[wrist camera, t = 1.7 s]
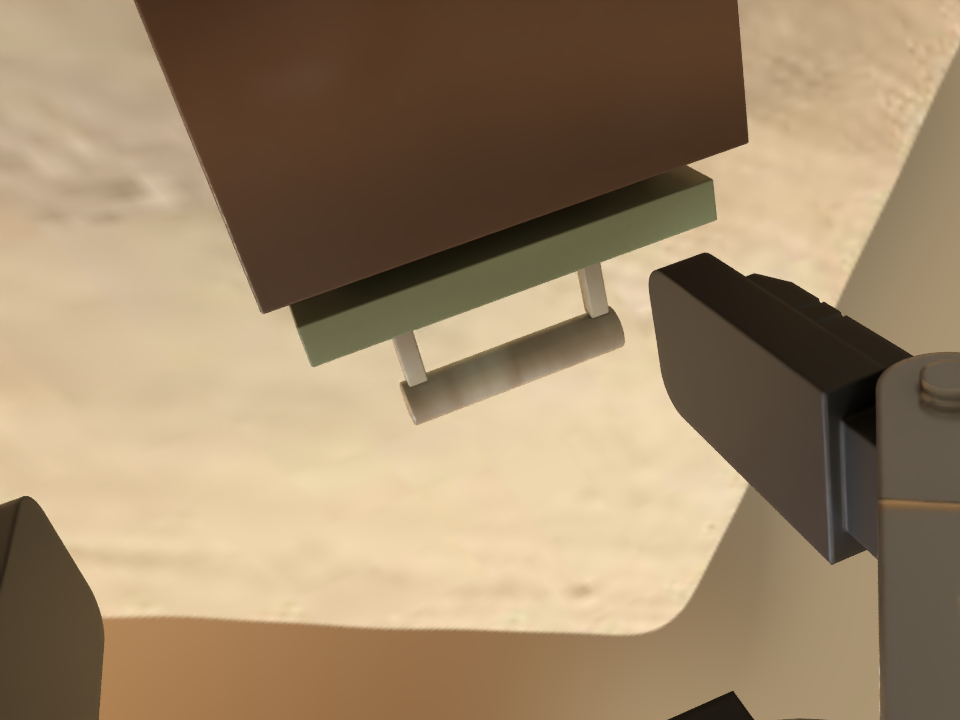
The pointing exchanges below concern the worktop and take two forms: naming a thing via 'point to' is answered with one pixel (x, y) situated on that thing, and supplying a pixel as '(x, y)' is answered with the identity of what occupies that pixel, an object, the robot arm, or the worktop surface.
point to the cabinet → (433, 117)
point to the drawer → (504, 292)
